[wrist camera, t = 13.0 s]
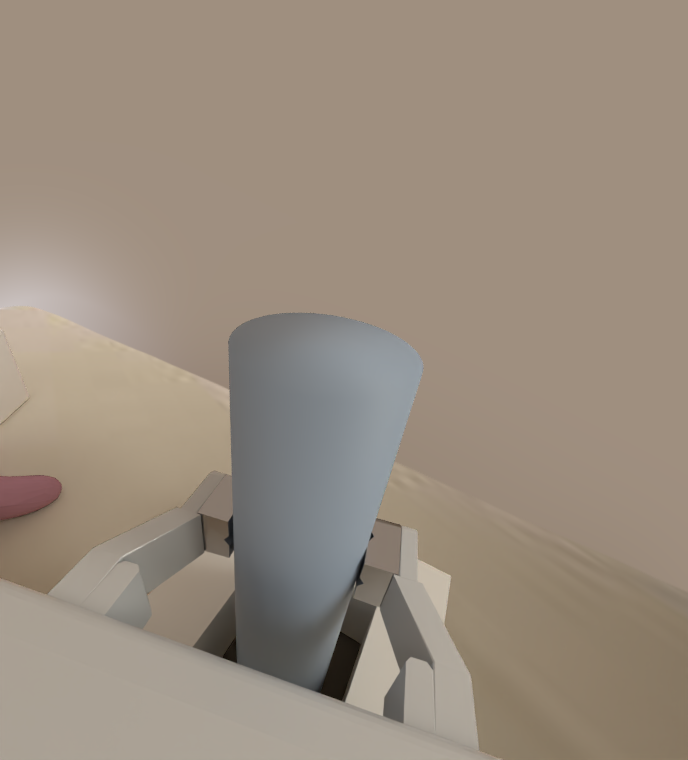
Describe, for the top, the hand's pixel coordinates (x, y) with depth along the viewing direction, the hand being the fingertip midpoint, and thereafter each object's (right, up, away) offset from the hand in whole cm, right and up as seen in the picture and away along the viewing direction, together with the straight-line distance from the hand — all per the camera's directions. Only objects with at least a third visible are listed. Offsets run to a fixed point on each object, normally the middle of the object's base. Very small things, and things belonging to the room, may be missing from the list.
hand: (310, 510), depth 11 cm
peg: (-2, -9, +4) cm, 10 cm away
